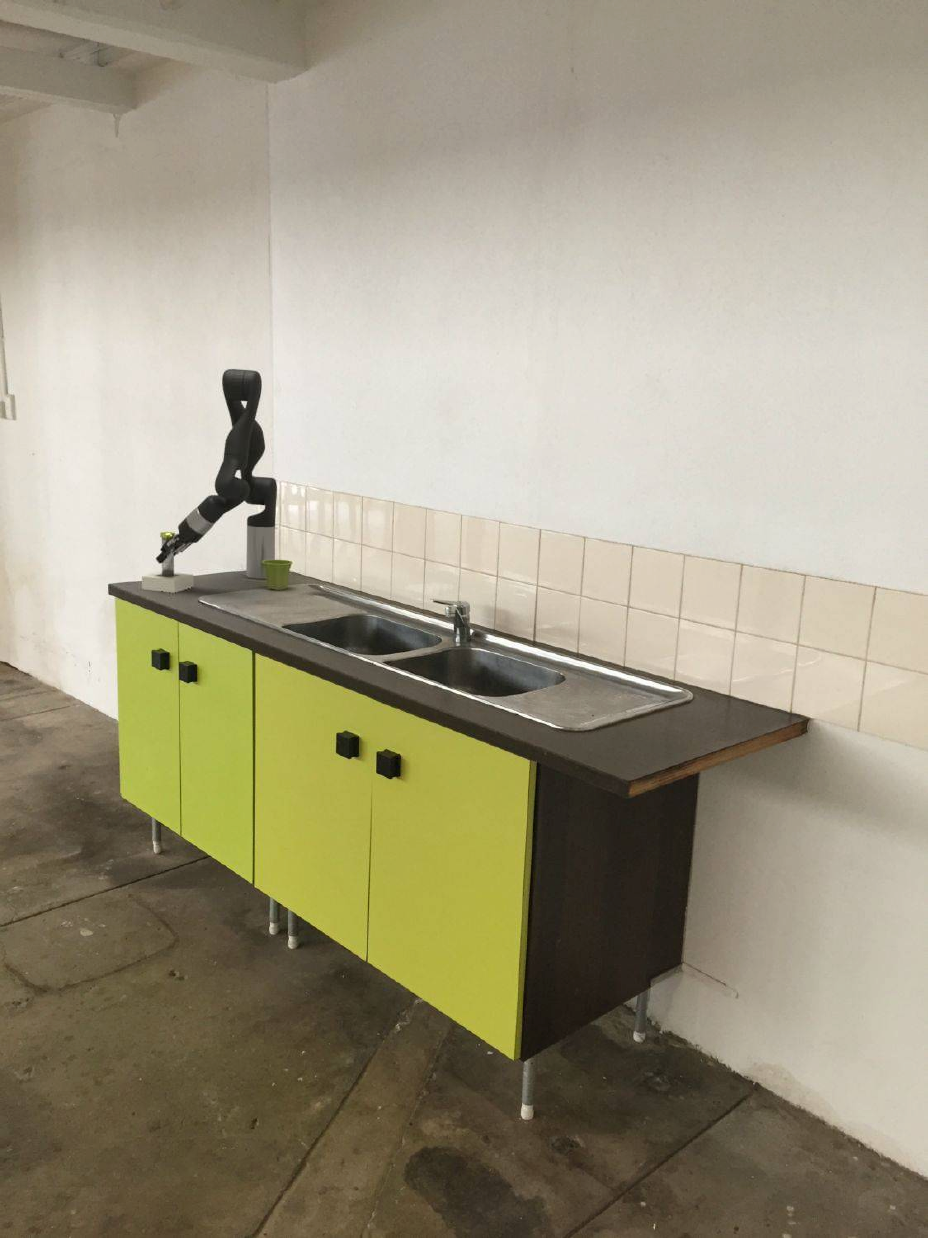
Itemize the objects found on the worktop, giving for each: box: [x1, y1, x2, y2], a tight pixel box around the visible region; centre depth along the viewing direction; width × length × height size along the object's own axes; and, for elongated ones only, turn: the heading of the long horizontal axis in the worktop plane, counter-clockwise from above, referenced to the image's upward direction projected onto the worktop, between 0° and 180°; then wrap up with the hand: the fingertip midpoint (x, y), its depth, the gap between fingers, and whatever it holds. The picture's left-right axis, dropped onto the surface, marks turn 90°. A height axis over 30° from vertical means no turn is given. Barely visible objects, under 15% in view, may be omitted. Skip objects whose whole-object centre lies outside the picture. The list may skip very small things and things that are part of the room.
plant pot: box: [262, 559, 293, 591], centre depth 329 cm, size 9×9×9 cm
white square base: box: [141, 570, 194, 594], centre depth 320 cm, size 11×11×4 cm
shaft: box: [159, 531, 176, 577], centre depth 318 cm, size 4×4×13 cm
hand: (162, 560), depth 319 cm, fingers closed on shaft, 3 cm apart
